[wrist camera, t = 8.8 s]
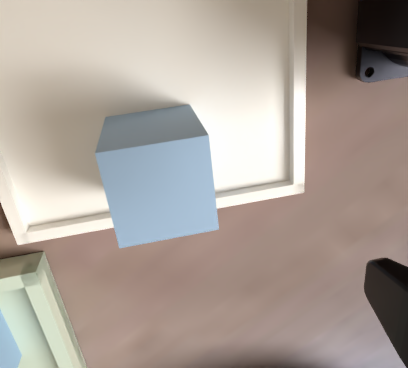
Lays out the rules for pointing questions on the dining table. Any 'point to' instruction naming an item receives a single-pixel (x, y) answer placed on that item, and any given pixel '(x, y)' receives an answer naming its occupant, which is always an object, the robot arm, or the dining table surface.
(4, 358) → the block
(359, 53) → the robot arm
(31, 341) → the tray
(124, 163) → the block
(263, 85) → the dish
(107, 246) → the dining table surface
